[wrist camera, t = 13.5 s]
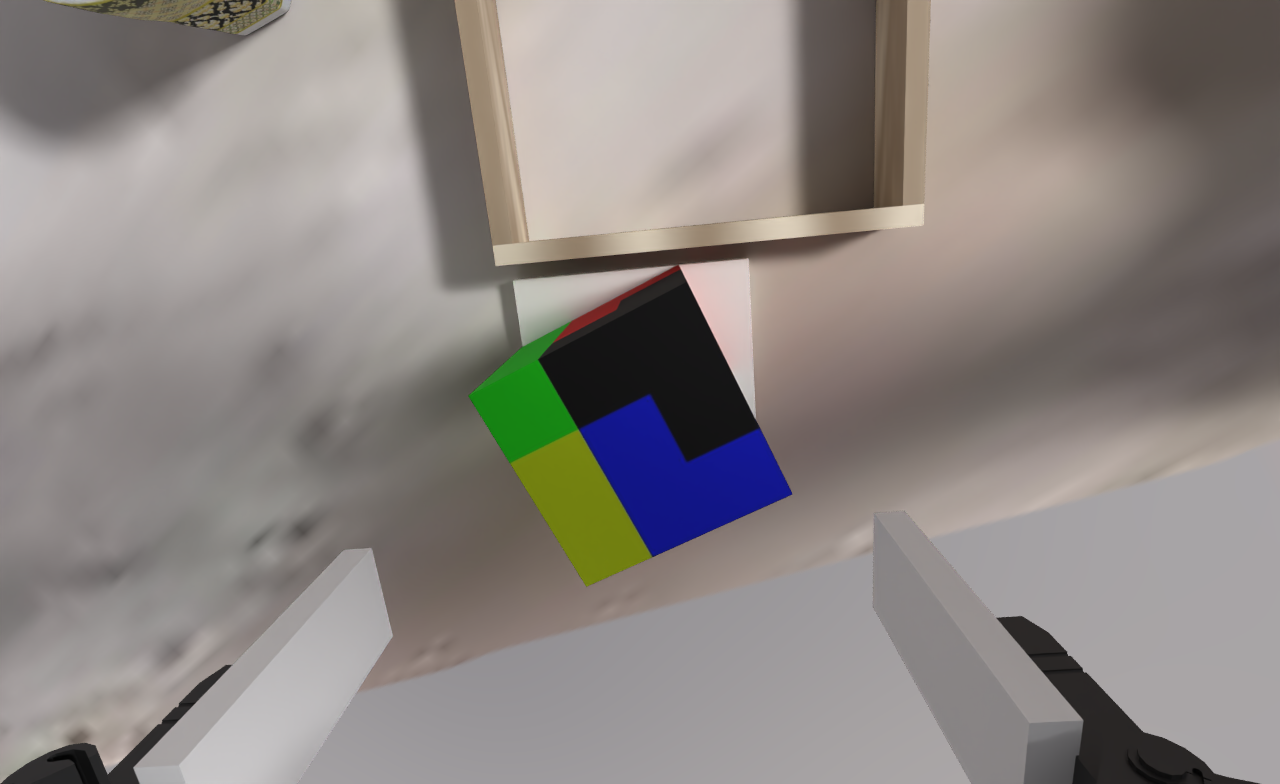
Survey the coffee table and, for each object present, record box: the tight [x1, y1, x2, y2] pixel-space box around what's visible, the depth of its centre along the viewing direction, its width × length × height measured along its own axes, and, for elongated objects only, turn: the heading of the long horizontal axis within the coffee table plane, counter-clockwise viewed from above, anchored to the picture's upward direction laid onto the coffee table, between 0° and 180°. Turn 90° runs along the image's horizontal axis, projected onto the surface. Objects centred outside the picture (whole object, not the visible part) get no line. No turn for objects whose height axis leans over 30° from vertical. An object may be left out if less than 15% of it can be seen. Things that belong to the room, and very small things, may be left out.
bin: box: [454, 0, 931, 266], centre depth 29 cm, size 21×21×4 cm
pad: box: [513, 258, 756, 419], centre depth 35 cm, size 13×13×1 cm
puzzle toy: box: [469, 265, 792, 587], centre depth 30 cm, size 10×10×10 cm
